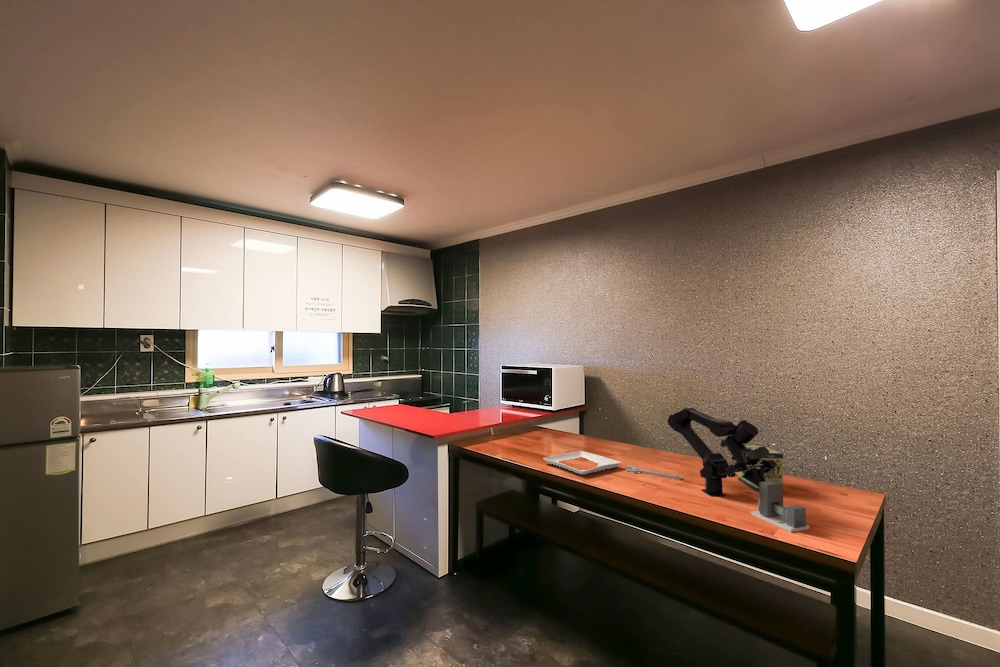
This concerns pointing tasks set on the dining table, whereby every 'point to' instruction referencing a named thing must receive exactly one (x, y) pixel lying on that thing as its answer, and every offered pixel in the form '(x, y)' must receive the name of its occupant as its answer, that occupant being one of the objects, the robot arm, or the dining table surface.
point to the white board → (778, 521)
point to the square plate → (602, 461)
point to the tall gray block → (770, 496)
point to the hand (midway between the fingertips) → (766, 490)
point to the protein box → (770, 476)
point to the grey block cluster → (791, 514)
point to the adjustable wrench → (651, 472)
